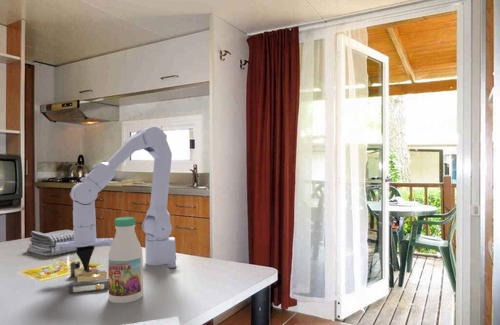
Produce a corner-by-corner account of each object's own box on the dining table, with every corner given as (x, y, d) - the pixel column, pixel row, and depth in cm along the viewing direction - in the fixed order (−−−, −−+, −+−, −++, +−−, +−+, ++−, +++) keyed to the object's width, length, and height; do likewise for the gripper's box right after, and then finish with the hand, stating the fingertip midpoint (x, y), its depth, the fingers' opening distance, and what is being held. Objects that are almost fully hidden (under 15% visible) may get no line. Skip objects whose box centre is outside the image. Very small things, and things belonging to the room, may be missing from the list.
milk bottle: (114, 296, 85) (113, 215, 85) (146, 295, 86) (145, 215, 86) (104, 309, 78) (102, 221, 77) (139, 308, 78) (137, 220, 78)
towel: (50, 258, 122) (50, 236, 122) (25, 251, 132) (25, 231, 132) (90, 249, 135) (90, 229, 135) (65, 243, 144) (64, 224, 144)
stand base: (130, 274, 102) (130, 263, 102) (127, 294, 87) (127, 280, 87) (70, 280, 97) (70, 268, 97) (56, 302, 82) (56, 288, 82)
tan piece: (111, 282, 91) (111, 269, 91) (84, 290, 86) (84, 276, 86) (86, 271, 101) (85, 259, 101) (60, 277, 96) (60, 264, 96)
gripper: (52, 230, 91) (53, 281, 91) (111, 225, 95) (112, 274, 95) (58, 225, 98) (60, 273, 98) (113, 221, 102) (114, 267, 102)
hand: (86, 273), depth 97 cm, fingers closed, pressing on tan piece
